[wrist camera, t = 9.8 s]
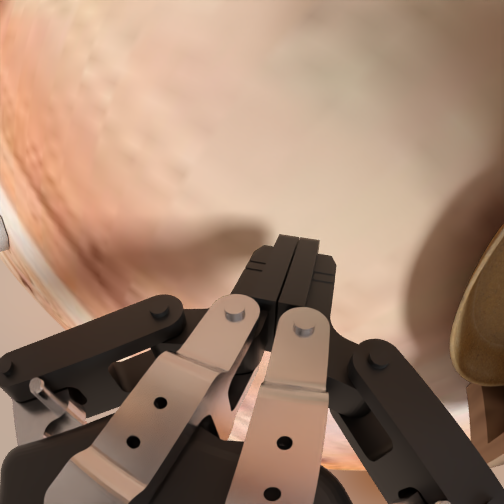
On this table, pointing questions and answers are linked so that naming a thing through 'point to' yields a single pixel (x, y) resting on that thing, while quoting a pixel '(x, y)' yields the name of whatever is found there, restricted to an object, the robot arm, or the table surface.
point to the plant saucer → (482, 320)
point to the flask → (3, 237)
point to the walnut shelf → (487, 421)
